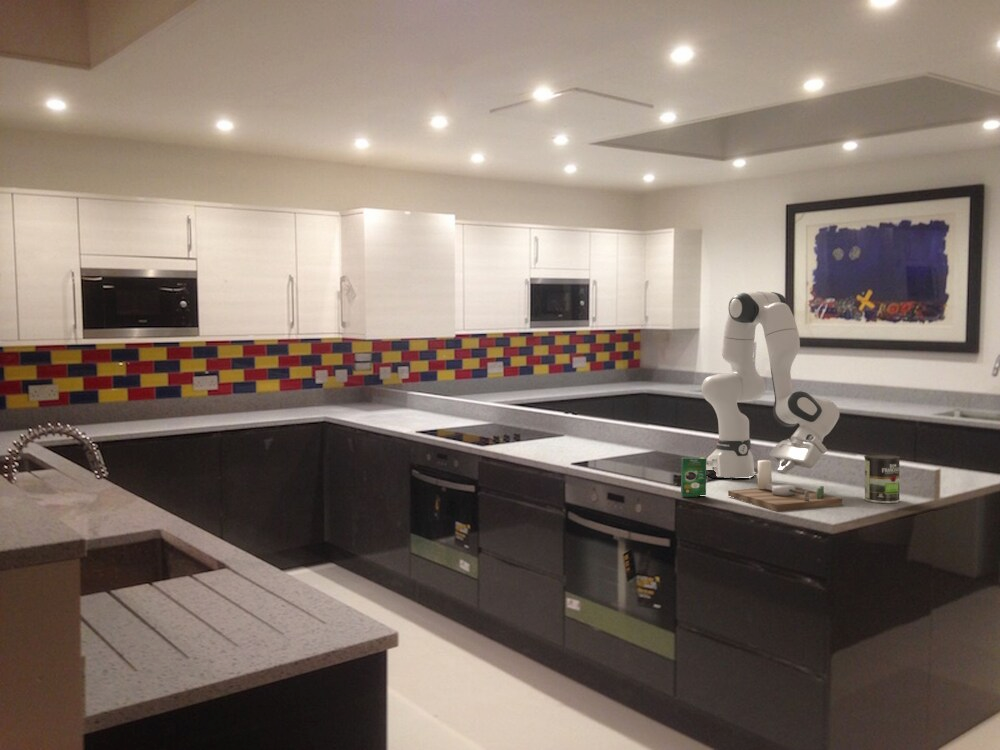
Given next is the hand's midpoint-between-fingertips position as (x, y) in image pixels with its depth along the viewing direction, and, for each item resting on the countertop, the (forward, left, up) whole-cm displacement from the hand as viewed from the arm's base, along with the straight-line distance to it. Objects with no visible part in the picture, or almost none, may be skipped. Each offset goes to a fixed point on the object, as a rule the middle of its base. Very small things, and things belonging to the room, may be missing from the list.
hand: (780, 472), depth 285 cm
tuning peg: (+9, -6, -5) cm, 12 cm away
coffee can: (+22, +22, -8) cm, 32 cm away
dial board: (+10, -6, -7) cm, 14 cm away
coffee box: (-8, -28, -8) cm, 30 cm away
